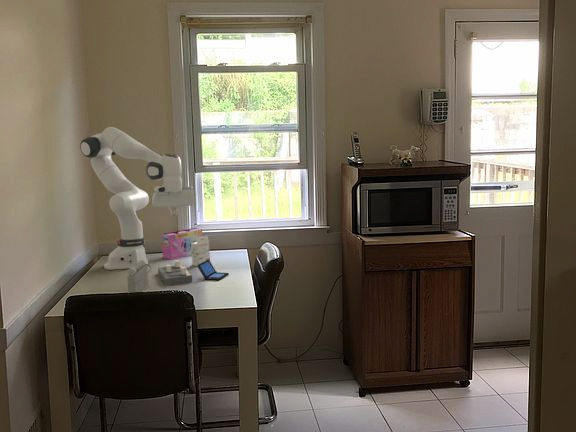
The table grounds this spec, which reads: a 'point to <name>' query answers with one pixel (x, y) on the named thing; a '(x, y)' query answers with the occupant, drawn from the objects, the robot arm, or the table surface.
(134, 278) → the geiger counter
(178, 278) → the switch panel
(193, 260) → the ink cartridge box
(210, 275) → the handheld game console
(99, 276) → the table surface
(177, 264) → the switch tab
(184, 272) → the switch tab
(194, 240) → the gum box
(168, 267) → the switch tab
